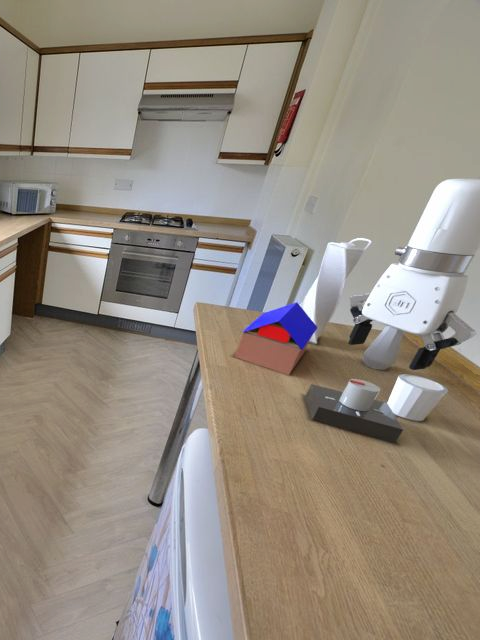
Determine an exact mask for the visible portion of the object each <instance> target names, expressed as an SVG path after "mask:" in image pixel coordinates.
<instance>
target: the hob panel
mask: <svg viewBox="0 0 480 640" xmlns="http://www.w3.org/2000/svg"><path fill="white" fill-rule="evenodd" d="M342 393H343V391H341V390H337V389H332V388H329V387H325V386H321V385H317V384H313V383H311V384H310V386H309V388H308V390H307V392H306V394H305V400H306V403H307V407H308V409H309V414H310V417H311V420H312V421H315V422H319V423H323V424H326V425H330V426H333V427H336V428H339V429H344V430H346V431H351V432H353V433H358V434H361V435H365V436H368V437H371V438H376V439H379V440H383V441H385V442H386V441H387V442H390V443H393V444H395V443H397V441H398V440H399V438H400V436H401V435H402V433H403V431H404V428H403V426H402V424H401V423H400V421H399V420H398V418H397V416H396V414H394V413H393V412H392V410H391V408H390V407H389V405H388V404H387V402H386V401H381V400H378V399H375V400H374V402H373V404H372V405H371V407H370V409H369V410H368V411H358V410H354V409H351V408H349V407H347V406H345V405H343V404H342V403H341V402H340V401H339V399H340V397H341V395H342Z"/></svg>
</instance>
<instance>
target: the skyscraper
mask: <svg viewBox="0 0 480 640" xmlns="http://www.w3.org/2000/svg"><path fill="white" fill-rule="evenodd" d="M357 241H365V242H368V243H367V245H366V246H365V247H364V248H360V247H356V244H355V243H354V242H357ZM372 243H373V242H372V240H370V239H368V238H365V237H357V238H354V239H351V240H350V241H349V242H347V241H341V242H333V241H331V242H330V241H329V242H328V243H327V245H326V248H325V251H324V255H323V258H322V260H321V264H320V268H319V270H318V271H319V272H318V276H317V277H316V278H315V280H314V282H313V284H312V285H311V287H310V289H308V291H307V293H306V294H305V295H304V298H303V301H302V302H301V303H299V305H300V306H301V308H302V309H303V310H304V311H305V313H306V314H307V315H308V316H309V318H310V319H311V320H312V321H313V322H314V324H315V325H316V326H317V327H318V328H317V329H316V331H315V332H314V334H313V335H312V337H311V339H310V341H309V343H308V344H313V345H317V344H318V340H319V338H320V336H321V335H322V333H323V332H324V330H325V329H326V327H327V326H328V324H329V322H330V321H331V319H332V317H333V316H334V314H335V312H336V310H337V308H338V306H339V303H340V301H341V299H342V297H343V292H344V289H345V284H346V280H347V279H348V277H349V276H350V274H351V273H352V271H353V270H354V268H355V267H356V265H357V264H358V262H359V261H360V259H361V258H362V256H363V255H364V253H365V251H366V250H367V248H369V246H370V245H371V244H372Z"/></svg>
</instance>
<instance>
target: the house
mask: <svg viewBox="0 0 480 640" xmlns="http://www.w3.org/2000/svg"><path fill="white" fill-rule="evenodd" d="M317 328H318V327H317V326H316V325H315V324H314V322H313V321H312V320H311V319H310V318H309V316H308V315H307V314H306V313H305V311H304V310H303V309H302V308H301V306H300V303H298V301H296V302H294V303H290V304H287V305H284V306H281V307H278V308H275V309H272V310H269V311H266V312H263V313H262V314H261V315H259V316H258V317H257V318H256V319H254V321H252V322H251V323H250V324H249V325H248V326H247V327H246V328H245V329H244V330H243V331H242V332H241V333H242V334H241V339H240V341H239V343H238V347H237V348H236V352H235V354H234V357H235V358H237V359H239V360H242V361H245V362H249V363H251V364H255V365H258V366H261V367H265V368H267V369H270V370H272V371H276V372H279V373H282V374H285V375H288V376H289V375H290V374H291V372H292V371H293V369H294V368H295V367H296V365H297V364H298V362H299V361H300V359H301V358H302V357H303V355H304V353H305V351H306V350H307V347H308V345H309V344H310V343H309V341H310V339H311V337H312V335H313V334H314V332H315V331H316V329H317Z"/></svg>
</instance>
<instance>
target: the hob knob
mask: <svg viewBox="0 0 480 640" xmlns="http://www.w3.org/2000/svg"><path fill="white" fill-rule="evenodd" d="M342 392H343V393H342V395H341V397H340V399H339V401H340V402H341V403H342V404H343V405H345V406H347V407H349V408H351V409H354V410H358V411H368V410H369V409H370V407H371V405H372V404H373V402H374V400H376V399H377V397H378V395H379V393H380V392H381V388H380V387H379V386H378V385H376V384H374V383H371V382H369V381H366V380H363V379H358V378H351V379H349V380H348V382H347V384H346V386H345V388H344V390H343V391H342Z"/></svg>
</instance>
